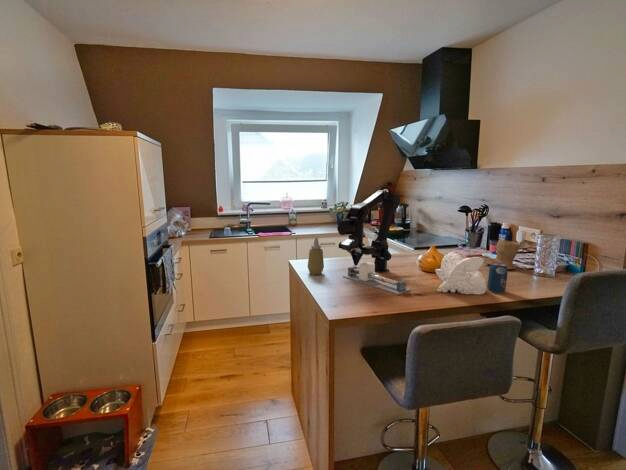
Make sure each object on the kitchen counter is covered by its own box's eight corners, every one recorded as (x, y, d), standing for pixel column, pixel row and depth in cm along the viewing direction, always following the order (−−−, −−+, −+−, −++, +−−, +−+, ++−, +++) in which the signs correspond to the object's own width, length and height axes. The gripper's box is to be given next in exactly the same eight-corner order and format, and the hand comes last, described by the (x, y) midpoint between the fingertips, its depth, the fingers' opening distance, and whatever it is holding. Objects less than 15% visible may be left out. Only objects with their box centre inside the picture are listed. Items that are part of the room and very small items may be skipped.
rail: (347, 276, 168) (348, 267, 167) (354, 274, 170) (354, 265, 170) (399, 293, 146) (400, 282, 145) (405, 291, 148) (406, 280, 148)
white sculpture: (506, 274, 143) (471, 250, 138) (480, 316, 143) (444, 293, 138) (475, 265, 161) (444, 243, 156) (453, 302, 161) (420, 281, 156)
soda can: (504, 295, 146) (507, 267, 144) (486, 291, 149) (489, 264, 147) (505, 290, 152) (509, 263, 149) (487, 287, 155) (490, 261, 153)
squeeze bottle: (322, 276, 167) (323, 239, 164) (305, 275, 169) (306, 238, 165) (325, 271, 175) (326, 236, 172) (309, 270, 176) (309, 235, 173)
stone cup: (521, 269, 186) (525, 241, 183) (507, 271, 181) (510, 243, 178) (495, 262, 199) (498, 236, 197) (481, 264, 194) (484, 238, 191)
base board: (343, 277, 167) (343, 275, 166) (356, 273, 172) (356, 272, 172) (397, 294, 144) (397, 293, 144) (410, 290, 149) (410, 288, 149)
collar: (359, 279, 161) (359, 264, 160) (367, 276, 165) (368, 261, 164) (365, 281, 158) (366, 265, 157) (374, 278, 162) (374, 263, 161)
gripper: (330, 231, 165) (329, 264, 168) (360, 237, 151) (359, 272, 154) (347, 229, 172) (346, 260, 175) (377, 235, 158) (375, 268, 161)
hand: (355, 265), depth 166 cm, fingers closed
